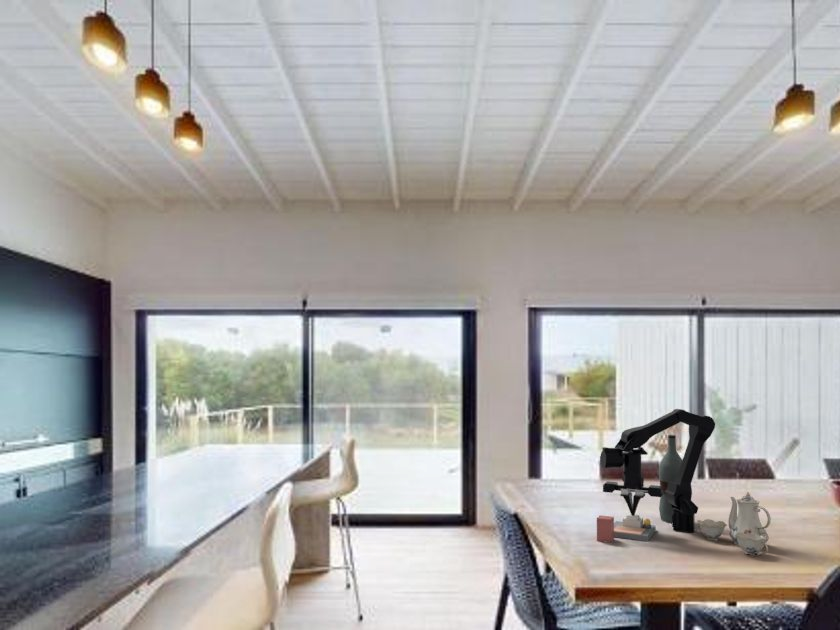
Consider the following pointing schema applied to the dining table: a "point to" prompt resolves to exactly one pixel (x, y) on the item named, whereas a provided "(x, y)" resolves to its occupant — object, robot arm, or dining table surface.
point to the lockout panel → (634, 529)
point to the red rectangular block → (605, 528)
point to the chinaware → (741, 525)
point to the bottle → (668, 477)
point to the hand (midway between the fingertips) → (633, 515)
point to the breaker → (633, 517)
